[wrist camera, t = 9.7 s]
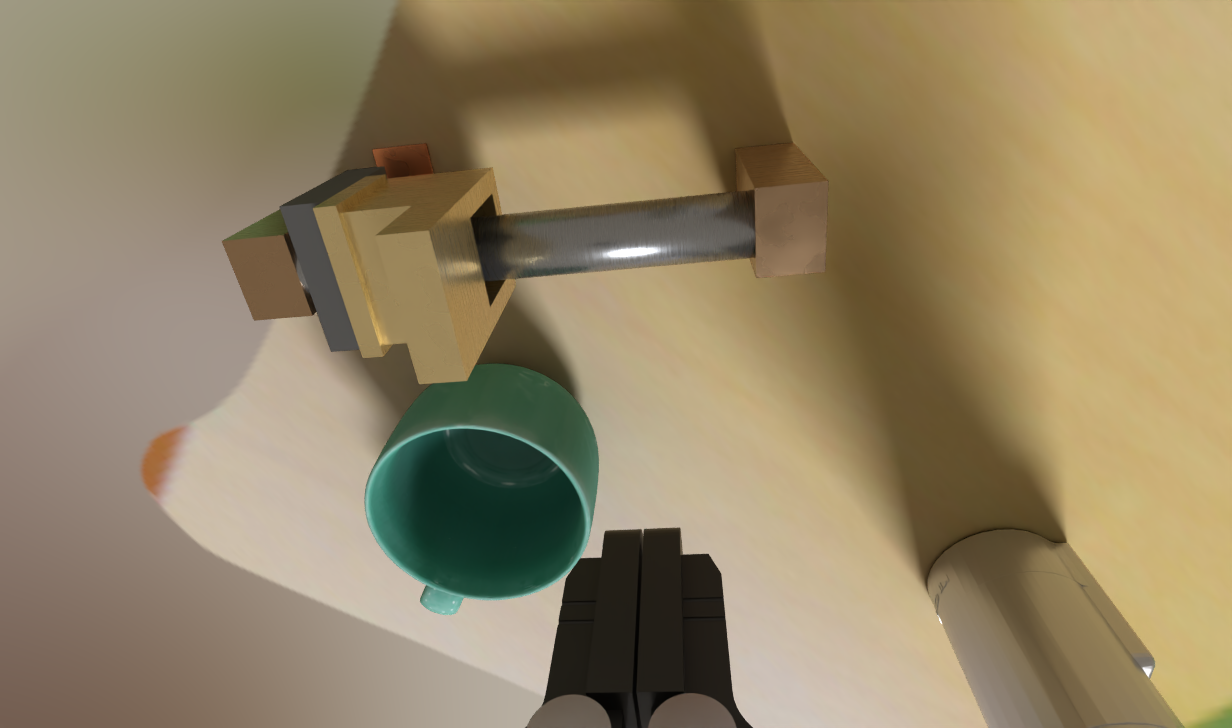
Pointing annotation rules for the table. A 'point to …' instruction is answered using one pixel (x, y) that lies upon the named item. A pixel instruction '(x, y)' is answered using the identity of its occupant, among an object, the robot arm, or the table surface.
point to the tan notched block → (416, 267)
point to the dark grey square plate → (323, 256)
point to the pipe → (592, 231)
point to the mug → (486, 487)
